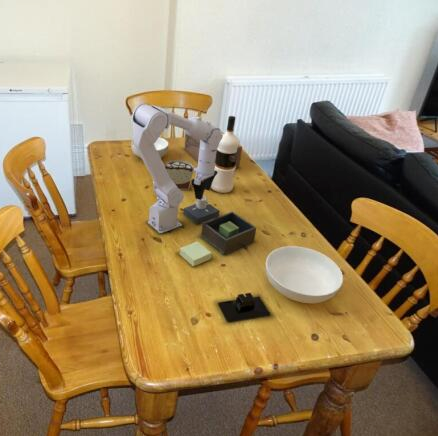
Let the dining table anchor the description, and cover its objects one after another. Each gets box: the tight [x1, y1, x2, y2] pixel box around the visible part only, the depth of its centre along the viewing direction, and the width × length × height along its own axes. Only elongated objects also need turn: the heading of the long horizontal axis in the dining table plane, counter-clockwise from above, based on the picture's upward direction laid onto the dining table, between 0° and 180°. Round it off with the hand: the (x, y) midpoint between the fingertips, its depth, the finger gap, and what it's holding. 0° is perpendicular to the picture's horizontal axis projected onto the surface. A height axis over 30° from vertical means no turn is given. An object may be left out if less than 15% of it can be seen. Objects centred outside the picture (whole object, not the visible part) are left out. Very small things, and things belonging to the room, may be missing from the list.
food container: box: [164, 159, 195, 191], centre depth 164 cm, size 12×6×10 cm, turn 84°
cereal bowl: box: [130, 136, 169, 159], centre depth 186 cm, size 17×17×7 cm
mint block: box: [179, 241, 212, 267], centre depth 128 cm, size 7×7×2 cm
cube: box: [219, 221, 239, 239], centre depth 135 cm, size 4×4×4 cm
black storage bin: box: [200, 211, 257, 256], centre depth 136 cm, size 13×11×6 cm
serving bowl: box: [265, 245, 344, 304], centre depth 117 cm, size 21×21×7 cm
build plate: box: [217, 292, 271, 324], centre depth 110 cm, size 12×7×5 cm, turn 104°
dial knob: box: [195, 195, 208, 209], centre depth 148 cm, size 4×4×4 cm
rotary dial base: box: [182, 200, 220, 225], centre depth 149 cm, size 10×9×3 cm
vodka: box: [210, 115, 241, 194], centre depth 158 cm, size 9×9×30 cm
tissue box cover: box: [184, 131, 243, 169], centre depth 187 cm, size 26×14×10 cm, turn 21°
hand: (202, 194), depth 146 cm, fingers open, 7 cm apart
